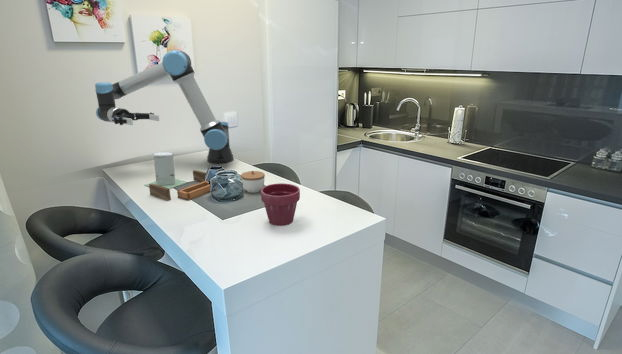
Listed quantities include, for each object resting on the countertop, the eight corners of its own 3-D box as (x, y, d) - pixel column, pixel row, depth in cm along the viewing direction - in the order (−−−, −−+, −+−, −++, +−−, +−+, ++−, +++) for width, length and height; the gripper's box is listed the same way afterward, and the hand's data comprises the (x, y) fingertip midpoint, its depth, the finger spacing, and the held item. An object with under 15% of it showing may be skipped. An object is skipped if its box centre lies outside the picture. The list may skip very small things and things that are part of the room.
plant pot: (280, 210, 141) (280, 180, 137) (307, 219, 132) (307, 188, 128) (254, 221, 130) (252, 189, 126) (281, 233, 122) (280, 199, 118)
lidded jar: (263, 194, 156) (262, 174, 153) (239, 194, 157) (238, 174, 154) (266, 186, 167) (266, 167, 164) (244, 186, 167) (243, 167, 164)
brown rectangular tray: (206, 186, 165) (205, 180, 164) (215, 189, 162) (215, 183, 161) (177, 197, 152) (177, 190, 151) (187, 200, 149) (187, 194, 148)
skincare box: (156, 186, 164) (152, 155, 159) (158, 182, 169) (154, 152, 165) (175, 184, 166) (172, 154, 162) (176, 180, 172) (172, 151, 167)
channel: (196, 179, 175) (195, 169, 174) (212, 183, 169) (212, 174, 168) (150, 194, 155) (148, 184, 153) (167, 200, 149) (166, 189, 147)
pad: (169, 177, 177) (169, 176, 177) (188, 182, 170) (188, 182, 170) (144, 185, 166) (144, 184, 166) (163, 191, 159) (163, 190, 159)
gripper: (143, 120, 185) (169, 124, 174) (95, 127, 165) (121, 132, 154) (141, 105, 183) (167, 109, 172) (92, 111, 162) (118, 115, 152)
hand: (145, 120), depth 163 cm, fingers open, 13 cm apart
